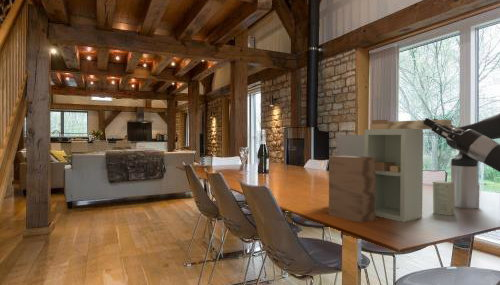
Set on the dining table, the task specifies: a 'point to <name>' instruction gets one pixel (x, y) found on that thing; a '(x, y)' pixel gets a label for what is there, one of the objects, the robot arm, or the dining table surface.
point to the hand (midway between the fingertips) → (429, 120)
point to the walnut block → (352, 187)
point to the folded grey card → (350, 145)
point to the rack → (396, 170)
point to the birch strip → (415, 124)
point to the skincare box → (443, 198)
